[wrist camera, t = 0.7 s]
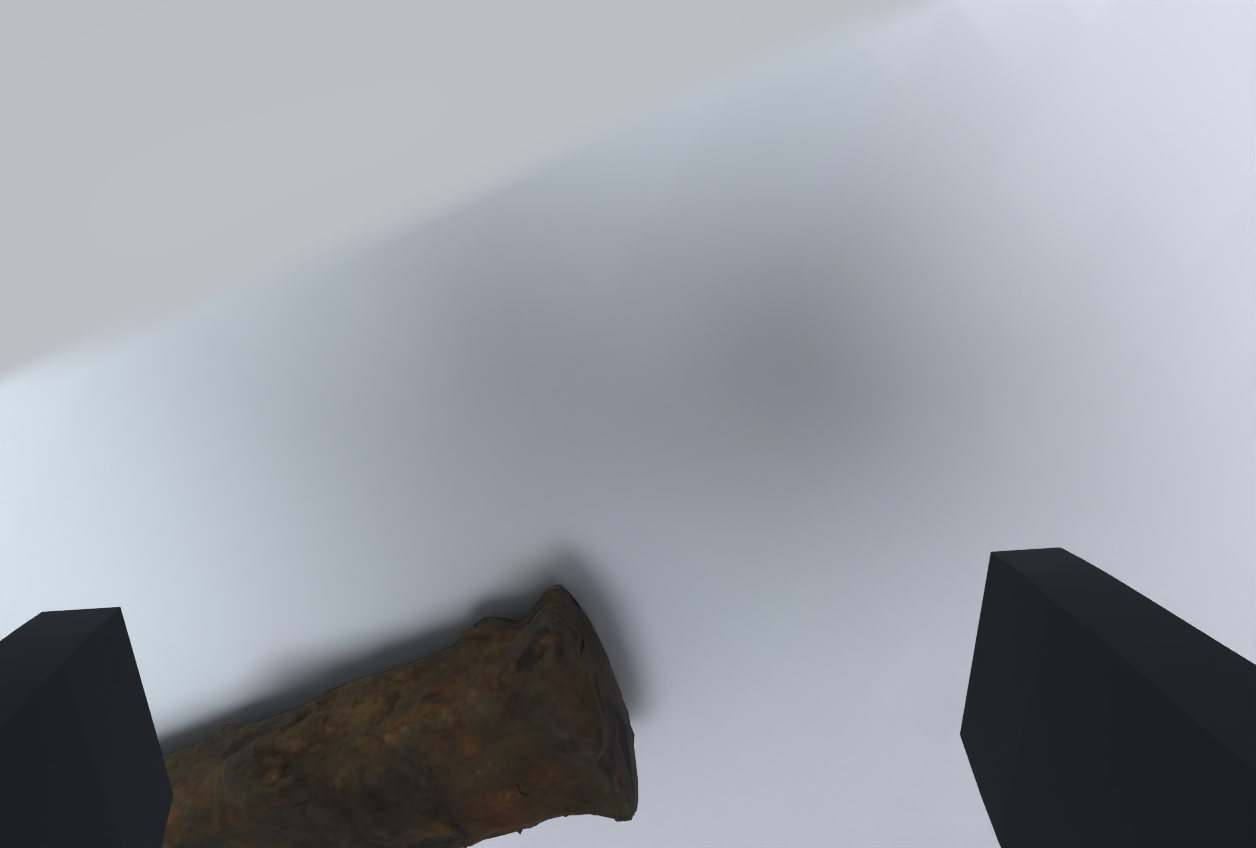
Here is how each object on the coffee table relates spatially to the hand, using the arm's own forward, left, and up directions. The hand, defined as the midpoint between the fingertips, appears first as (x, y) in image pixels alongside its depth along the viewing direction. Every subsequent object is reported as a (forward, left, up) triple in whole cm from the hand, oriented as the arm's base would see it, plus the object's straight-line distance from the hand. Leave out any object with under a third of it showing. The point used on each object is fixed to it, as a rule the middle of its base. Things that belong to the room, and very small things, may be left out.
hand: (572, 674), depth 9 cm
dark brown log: (-9, +8, -11) cm, 16 cm away
